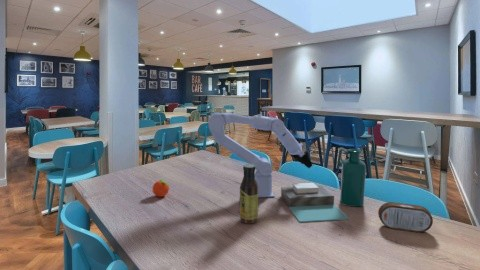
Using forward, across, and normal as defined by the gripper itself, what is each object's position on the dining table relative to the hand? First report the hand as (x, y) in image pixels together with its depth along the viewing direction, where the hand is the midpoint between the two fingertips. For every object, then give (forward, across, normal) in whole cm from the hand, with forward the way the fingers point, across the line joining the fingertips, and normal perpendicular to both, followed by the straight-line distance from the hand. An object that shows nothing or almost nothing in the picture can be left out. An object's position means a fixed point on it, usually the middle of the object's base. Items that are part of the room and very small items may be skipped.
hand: (307, 164), depth 117 cm
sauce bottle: (-8, -23, +31) cm, 40 cm away
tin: (+23, -35, -7) cm, 42 cm away
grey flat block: (+8, -8, +11) cm, 16 cm away
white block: (+5, -7, +8) cm, 12 cm away
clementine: (-30, +4, +57) cm, 65 cm away
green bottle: (+19, -12, -2) cm, 23 cm away
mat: (+8, -20, +11) cm, 25 cm away
